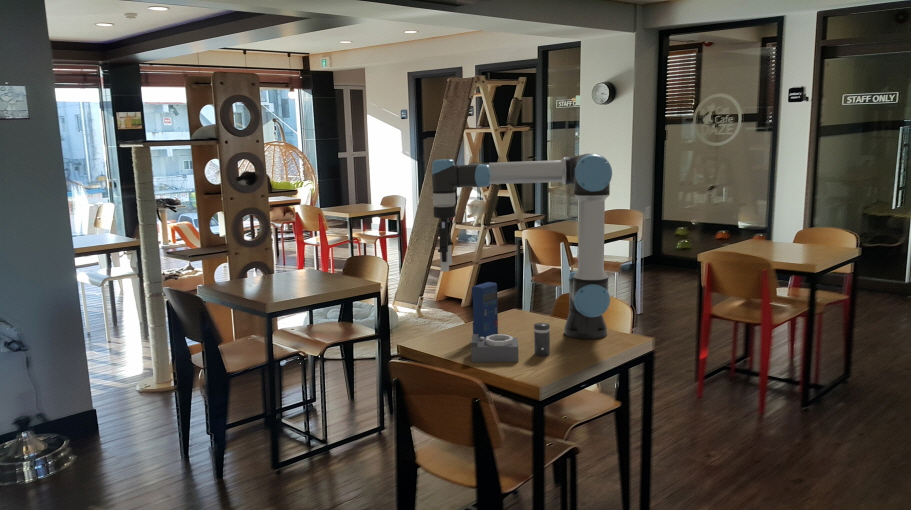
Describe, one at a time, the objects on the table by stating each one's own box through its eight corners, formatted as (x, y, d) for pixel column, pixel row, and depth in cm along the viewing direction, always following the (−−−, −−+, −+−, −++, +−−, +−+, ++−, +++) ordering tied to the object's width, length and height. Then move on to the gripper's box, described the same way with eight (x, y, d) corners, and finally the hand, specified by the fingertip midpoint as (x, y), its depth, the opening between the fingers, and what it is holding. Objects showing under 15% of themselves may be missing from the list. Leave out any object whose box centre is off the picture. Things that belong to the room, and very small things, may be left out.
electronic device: (483, 343, 247) (482, 287, 244) (472, 341, 251) (470, 286, 247) (499, 337, 255) (498, 283, 251) (488, 335, 258) (486, 281, 255)
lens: (549, 351, 236) (549, 322, 234) (550, 356, 231) (550, 326, 229) (534, 351, 236) (533, 322, 235) (534, 356, 231) (534, 327, 229)
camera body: (517, 352, 236) (517, 333, 235) (518, 361, 226) (518, 342, 225) (472, 352, 237) (472, 334, 236) (471, 362, 227) (471, 342, 226)
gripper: (436, 202, 251) (438, 261, 254) (429, 209, 226) (431, 274, 230) (457, 202, 250) (459, 261, 254) (452, 209, 226) (454, 274, 229)
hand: (446, 267), depth 242 cm, fingers open, 13 cm apart
